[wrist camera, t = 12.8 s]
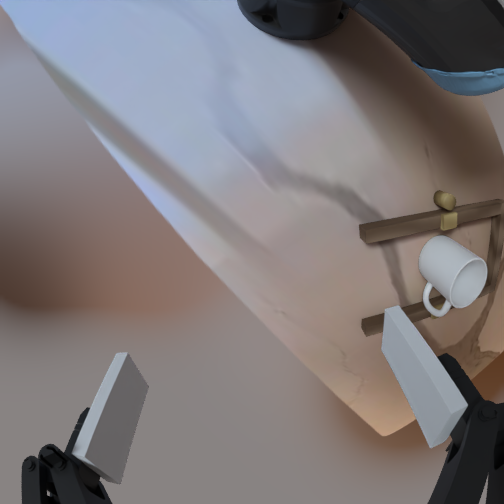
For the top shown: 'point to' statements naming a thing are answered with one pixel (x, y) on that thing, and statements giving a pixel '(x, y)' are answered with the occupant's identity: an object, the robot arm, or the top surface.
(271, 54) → the top surface
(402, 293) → the top surface
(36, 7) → the top surface
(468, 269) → the cup
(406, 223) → the track
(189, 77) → the top surface
